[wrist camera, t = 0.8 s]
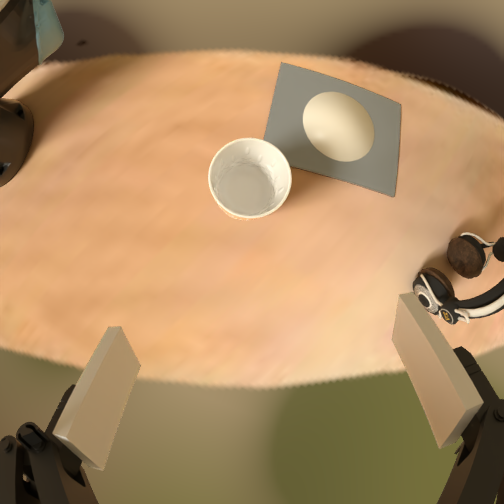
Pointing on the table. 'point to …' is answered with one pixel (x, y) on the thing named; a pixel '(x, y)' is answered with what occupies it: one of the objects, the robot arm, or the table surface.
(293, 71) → the card
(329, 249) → the table surface
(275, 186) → the white cup
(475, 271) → the headset
